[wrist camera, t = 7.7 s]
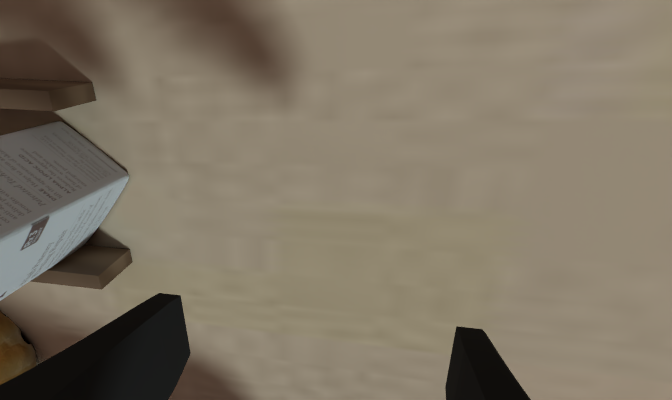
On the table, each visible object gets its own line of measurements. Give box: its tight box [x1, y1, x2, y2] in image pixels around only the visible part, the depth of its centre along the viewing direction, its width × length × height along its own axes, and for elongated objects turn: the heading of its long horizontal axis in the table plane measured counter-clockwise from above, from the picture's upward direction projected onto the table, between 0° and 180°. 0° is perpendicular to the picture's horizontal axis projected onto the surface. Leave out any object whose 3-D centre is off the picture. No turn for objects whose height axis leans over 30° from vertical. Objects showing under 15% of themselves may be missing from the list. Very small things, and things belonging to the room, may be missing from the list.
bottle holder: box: [0, 79, 132, 289], centre depth 19 cm, size 10×9×2 cm
